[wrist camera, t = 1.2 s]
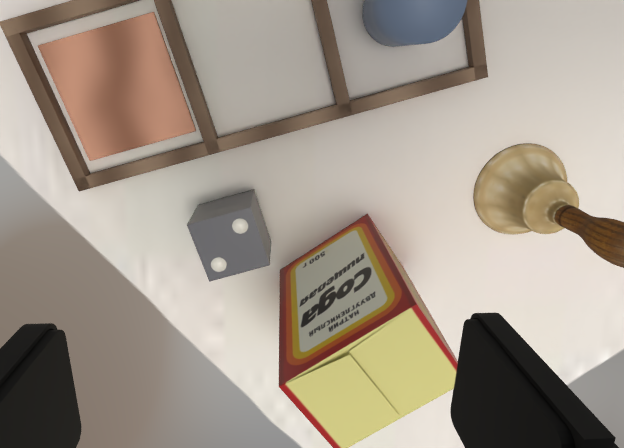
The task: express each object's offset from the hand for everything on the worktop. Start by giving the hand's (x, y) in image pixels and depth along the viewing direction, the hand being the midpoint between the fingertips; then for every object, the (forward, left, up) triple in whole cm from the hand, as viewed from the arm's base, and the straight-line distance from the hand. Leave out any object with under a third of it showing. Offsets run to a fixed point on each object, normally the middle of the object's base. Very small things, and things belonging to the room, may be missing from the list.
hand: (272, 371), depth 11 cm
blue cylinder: (-11, -8, -29) cm, 32 cm away
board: (0, -8, -29) cm, 30 cm away
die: (+6, +5, -29) cm, 30 cm away
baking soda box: (-2, +12, -29) cm, 32 cm away
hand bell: (-19, +9, -29) cm, 36 cm away
